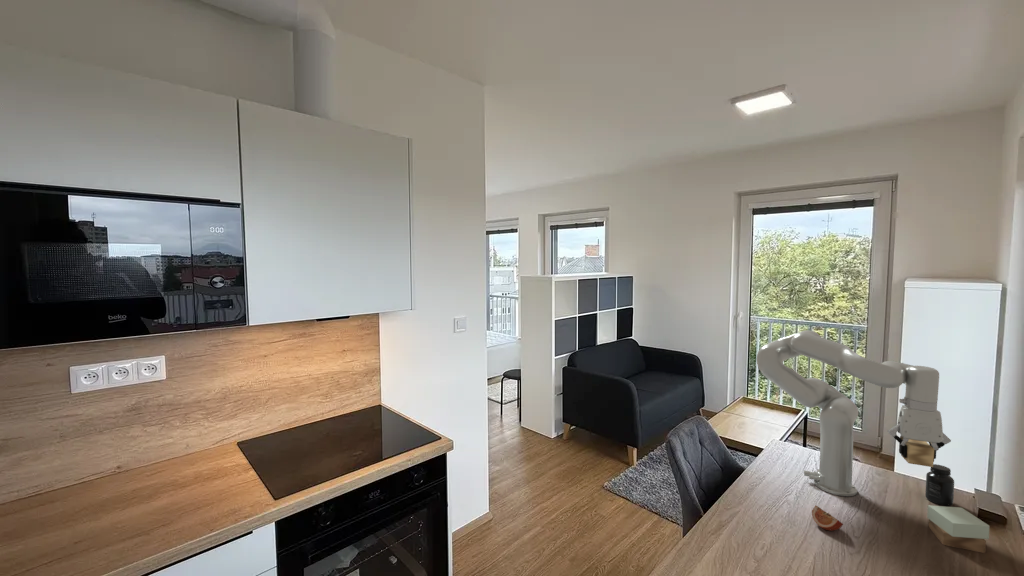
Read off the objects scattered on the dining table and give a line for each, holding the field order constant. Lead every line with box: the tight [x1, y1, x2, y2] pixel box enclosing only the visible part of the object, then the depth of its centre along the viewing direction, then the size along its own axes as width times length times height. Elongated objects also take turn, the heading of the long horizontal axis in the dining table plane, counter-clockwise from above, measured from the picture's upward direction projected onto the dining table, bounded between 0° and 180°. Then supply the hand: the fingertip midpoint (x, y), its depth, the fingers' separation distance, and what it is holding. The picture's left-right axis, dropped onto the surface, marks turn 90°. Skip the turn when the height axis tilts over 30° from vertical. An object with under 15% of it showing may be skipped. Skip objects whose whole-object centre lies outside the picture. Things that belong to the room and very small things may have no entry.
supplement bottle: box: [924, 463, 955, 507], centre depth 145 cm, size 7×7×12 cm
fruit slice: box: [811, 505, 844, 532], centre depth 132 cm, size 8×7×5 cm
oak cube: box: [900, 439, 935, 468], centre depth 138 cm, size 6×6×6 cm
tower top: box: [926, 505, 990, 540], centre depth 125 cm, size 9×9×4 cm
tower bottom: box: [928, 519, 987, 554], centre depth 126 cm, size 9×9×4 cm
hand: (916, 457), depth 138 cm, fingers closed on oak cube, 6 cm apart
